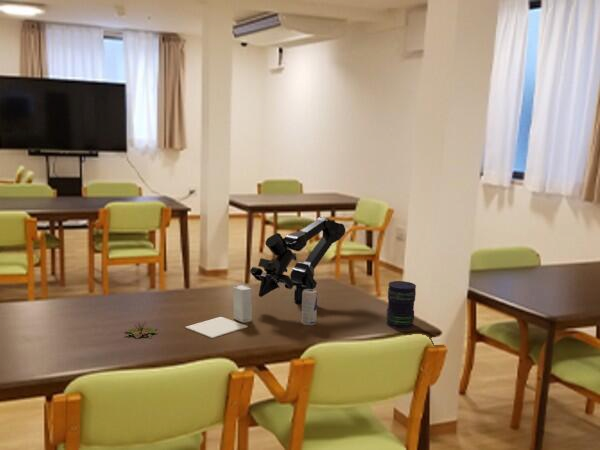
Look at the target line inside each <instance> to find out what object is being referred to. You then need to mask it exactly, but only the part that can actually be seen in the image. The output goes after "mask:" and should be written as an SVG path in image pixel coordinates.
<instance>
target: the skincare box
mask: <svg viewBox="0 0 600 450" xmlns="http://www.w3.org/2000/svg"><path fill="white" fill-rule="evenodd" d="M232 293H233V298H232V299H233V319H235V320H236V321H238V322H239V323H240V322H241V324H245V323H249V322H252V321H253V316H252V314H253V312H252V311H253V308H252V307H253V305H252V303H253V302H252V288H250V287H249V286H246V285H243V284H240V285H236V286H233V289H232Z"/></svg>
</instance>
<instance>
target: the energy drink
mask: <svg viewBox="0 0 600 450" xmlns="http://www.w3.org/2000/svg"><path fill="white" fill-rule="evenodd" d="M317 312H318V291H317V289H315V288H314V289H304V290H303V292H302V303H301V318H300V319H301V320H300V321H301V322H300V323H301V324H302V325H305V326H314V325H316V324H317Z"/></svg>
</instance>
